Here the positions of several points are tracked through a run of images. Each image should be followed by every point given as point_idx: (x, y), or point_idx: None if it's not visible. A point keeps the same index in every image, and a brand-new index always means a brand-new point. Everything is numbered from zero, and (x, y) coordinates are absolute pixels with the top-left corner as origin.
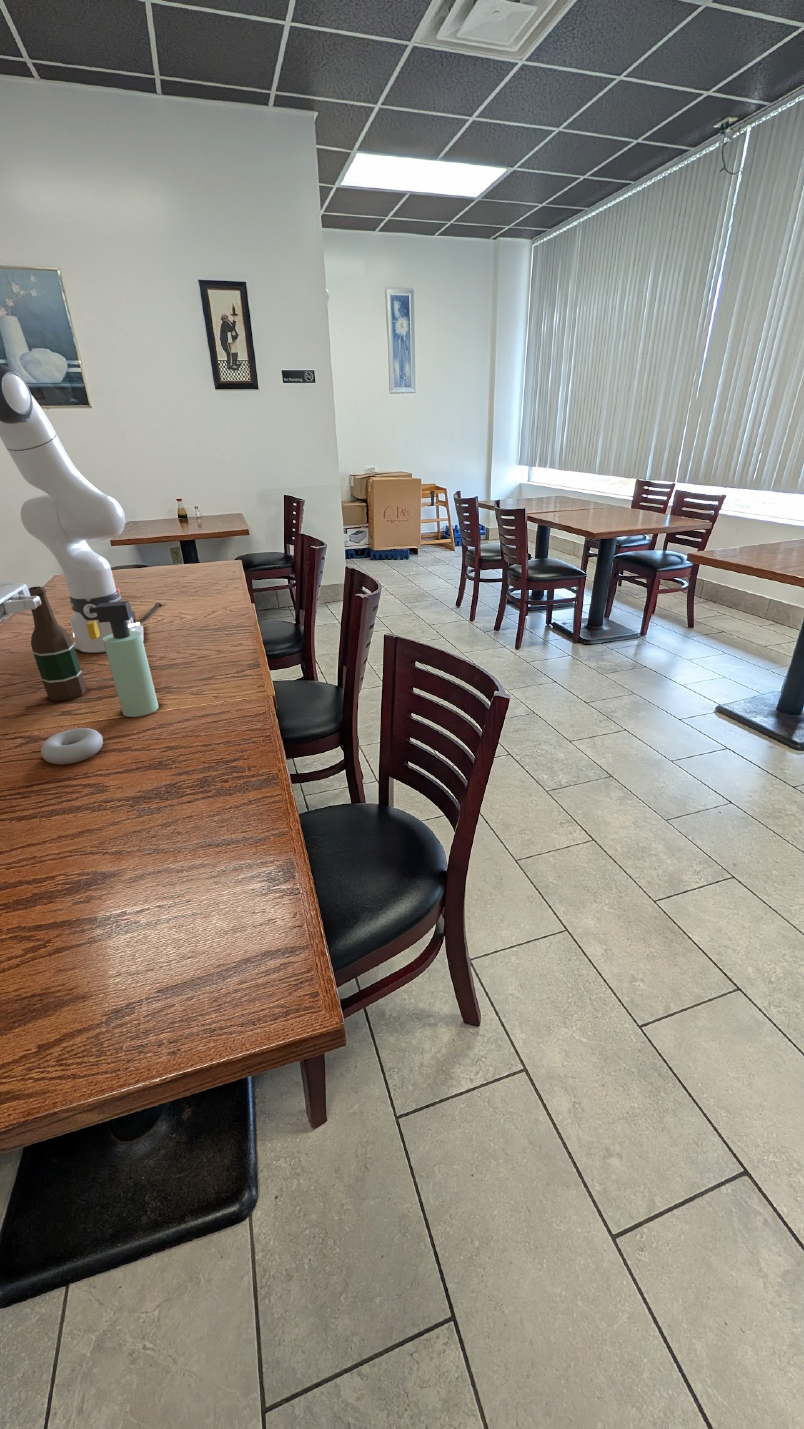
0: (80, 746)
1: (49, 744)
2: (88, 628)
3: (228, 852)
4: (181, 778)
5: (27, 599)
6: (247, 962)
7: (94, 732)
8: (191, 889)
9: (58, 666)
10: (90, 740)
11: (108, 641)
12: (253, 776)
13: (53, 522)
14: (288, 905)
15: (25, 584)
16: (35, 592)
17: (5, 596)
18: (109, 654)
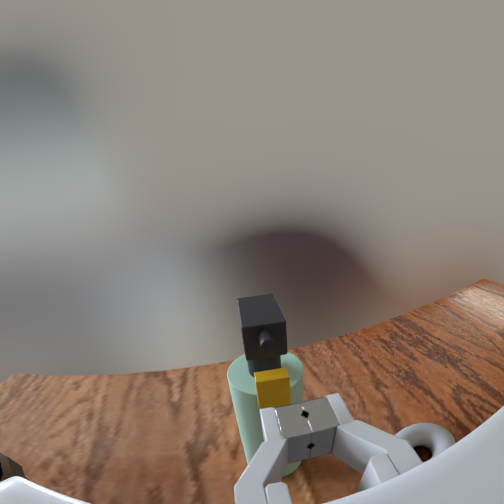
0: (435, 424)
1: None
2: (289, 383)
3: (458, 311)
4: (419, 355)
5: (335, 413)
6: (488, 290)
7: (403, 432)
8: (482, 310)
9: None
10: (421, 423)
11: (298, 376)
12: (398, 326)
13: None
14: (465, 291)
15: (21, 477)
16: None
17: (371, 490)
18: (299, 400)
